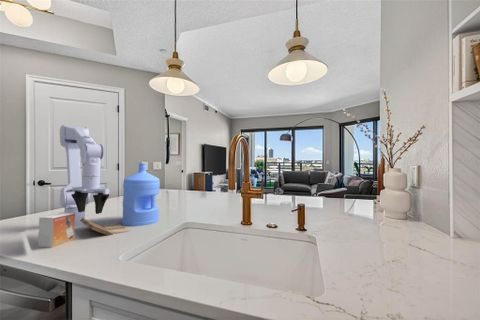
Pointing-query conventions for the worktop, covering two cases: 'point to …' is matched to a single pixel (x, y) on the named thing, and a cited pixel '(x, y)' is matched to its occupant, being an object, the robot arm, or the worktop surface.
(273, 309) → the worktop surface
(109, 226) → the oak floor strip
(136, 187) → the water jug
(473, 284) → the worktop surface
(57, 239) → the small box
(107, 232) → the walnut plank
